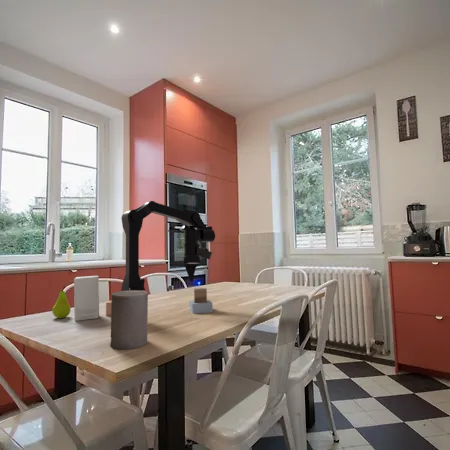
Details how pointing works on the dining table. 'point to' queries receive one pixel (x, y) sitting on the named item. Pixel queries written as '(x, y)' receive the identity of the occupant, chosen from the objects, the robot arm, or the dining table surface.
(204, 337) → the dining table surface
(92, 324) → the dining table surface
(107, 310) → the terracotta cube
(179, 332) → the dining table surface
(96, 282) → the skincare box
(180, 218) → the robot arm
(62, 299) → the fruit
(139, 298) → the pillar candle
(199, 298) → the walnut cube
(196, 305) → the slate slab
